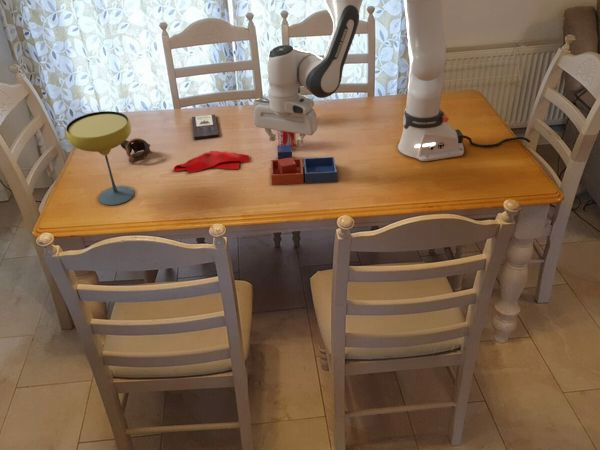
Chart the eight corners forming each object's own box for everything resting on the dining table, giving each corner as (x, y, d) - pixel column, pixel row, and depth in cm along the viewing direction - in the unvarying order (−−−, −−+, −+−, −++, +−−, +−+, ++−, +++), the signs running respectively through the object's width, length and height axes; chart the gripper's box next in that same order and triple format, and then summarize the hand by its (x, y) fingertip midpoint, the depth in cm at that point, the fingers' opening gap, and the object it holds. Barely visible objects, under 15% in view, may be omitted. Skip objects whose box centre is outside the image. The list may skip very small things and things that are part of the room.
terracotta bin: (301, 167, 189) (301, 158, 187) (303, 183, 181) (303, 173, 179) (271, 168, 189) (271, 159, 187) (271, 184, 180) (271, 175, 178)
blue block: (291, 157, 195) (291, 145, 192) (292, 164, 191) (291, 151, 188) (278, 158, 195) (277, 145, 192) (278, 164, 191) (277, 152, 188)
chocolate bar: (194, 137, 207) (191, 117, 222) (194, 139, 208) (192, 119, 222) (218, 134, 208) (214, 114, 223) (218, 136, 209) (215, 116, 223)
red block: (292, 169, 187) (291, 157, 184) (296, 176, 183) (296, 163, 180) (278, 172, 186) (277, 159, 183) (282, 179, 182) (281, 166, 179)
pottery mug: (158, 152, 201) (154, 140, 194) (146, 174, 198) (141, 162, 190) (128, 141, 203) (123, 128, 195) (115, 162, 199) (109, 150, 191)
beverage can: (293, 151, 198) (292, 120, 191) (276, 150, 199) (274, 119, 192) (297, 143, 203) (296, 112, 196) (280, 142, 204) (278, 111, 197)
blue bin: (333, 165, 189) (333, 156, 187) (336, 181, 181) (337, 172, 179) (303, 167, 189) (303, 158, 187) (305, 183, 181) (305, 173, 179)
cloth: (250, 150, 200) (249, 144, 199) (250, 169, 189) (249, 163, 187) (177, 154, 199) (176, 148, 198) (172, 174, 188) (171, 168, 186)
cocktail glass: (145, 207, 172) (128, 133, 157) (84, 216, 169) (61, 141, 155) (145, 178, 186) (130, 107, 172) (89, 185, 184) (68, 114, 169)
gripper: (248, 101, 170) (252, 142, 178) (311, 110, 163) (312, 152, 172) (257, 93, 175) (260, 133, 183) (318, 101, 168) (319, 142, 176)
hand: (286, 142), depth 177 cm, fingers open, 8 cm apart
